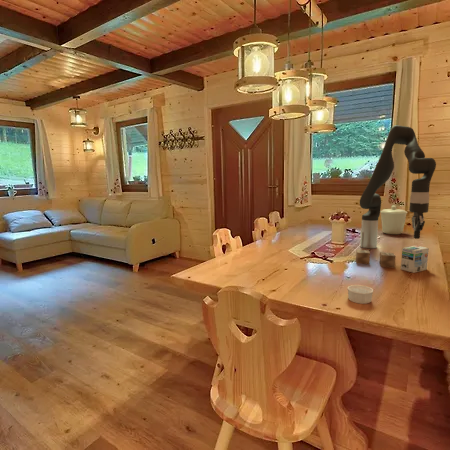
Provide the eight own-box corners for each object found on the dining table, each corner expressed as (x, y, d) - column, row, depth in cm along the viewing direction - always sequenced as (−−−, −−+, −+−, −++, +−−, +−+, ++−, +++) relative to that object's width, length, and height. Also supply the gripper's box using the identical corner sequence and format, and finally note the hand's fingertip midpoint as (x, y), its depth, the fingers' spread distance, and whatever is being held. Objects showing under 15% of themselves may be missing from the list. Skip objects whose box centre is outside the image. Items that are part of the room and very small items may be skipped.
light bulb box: (413, 273, 145) (415, 250, 143) (399, 269, 151) (401, 247, 149) (427, 269, 150) (429, 247, 148) (413, 266, 156) (415, 245, 154)
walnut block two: (356, 263, 162) (357, 252, 161) (355, 260, 167) (356, 249, 166) (369, 264, 160) (370, 252, 159) (368, 261, 165) (368, 249, 164)
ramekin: (346, 302, 114) (347, 291, 113) (346, 294, 122) (347, 283, 122) (373, 306, 111) (374, 294, 110) (371, 296, 119) (372, 286, 118)
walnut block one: (381, 266, 155) (381, 254, 154) (379, 263, 161) (380, 251, 160) (394, 267, 154) (395, 255, 153) (392, 264, 159) (393, 252, 158)
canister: (373, 231, 244) (375, 204, 240) (395, 230, 246) (397, 204, 242) (388, 236, 226) (390, 207, 223) (411, 235, 228) (413, 206, 225)
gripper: (406, 200, 152) (404, 235, 155) (413, 203, 140) (411, 241, 143) (424, 200, 150) (421, 236, 153) (433, 203, 137) (430, 241, 140)
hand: (416, 238), depth 148 cm, fingers closed
